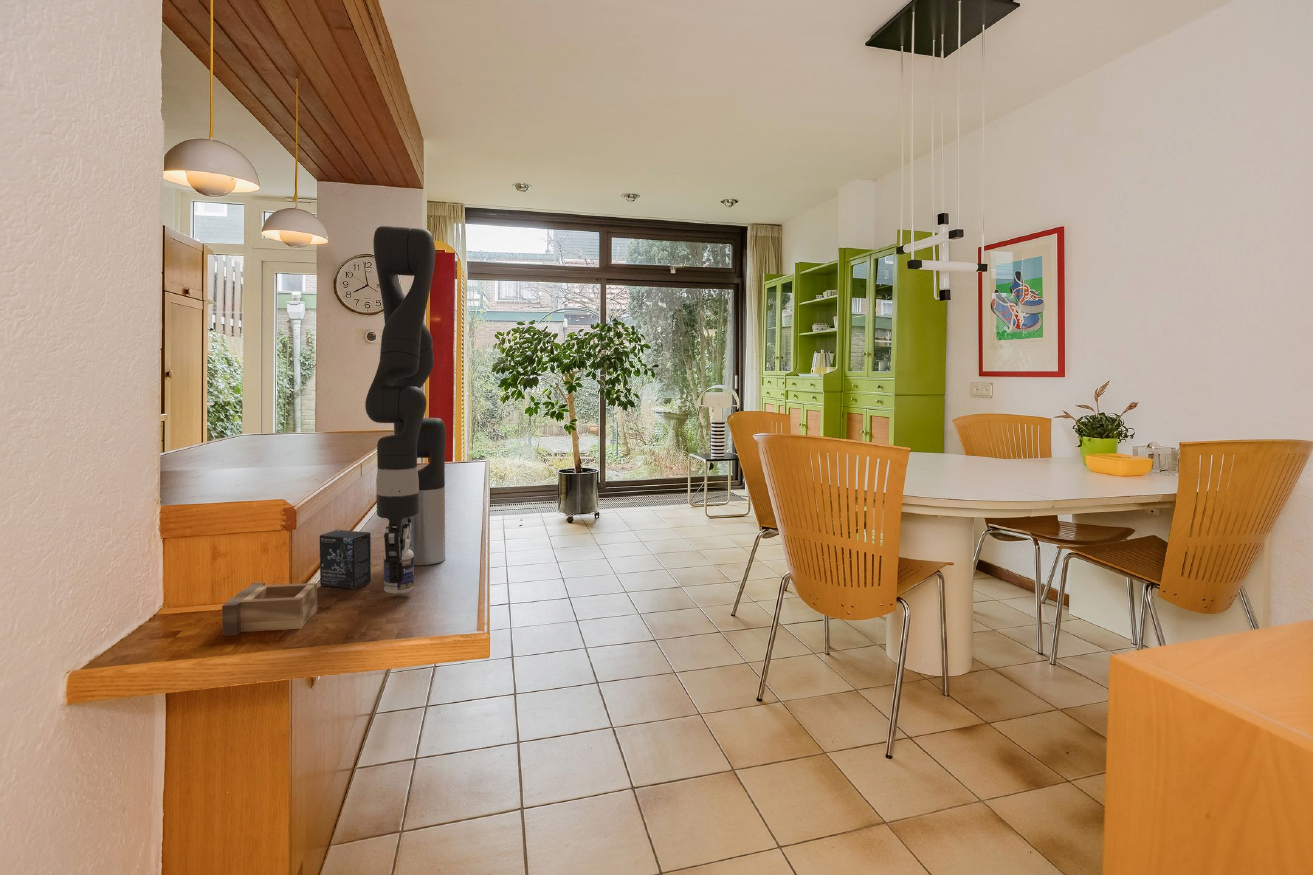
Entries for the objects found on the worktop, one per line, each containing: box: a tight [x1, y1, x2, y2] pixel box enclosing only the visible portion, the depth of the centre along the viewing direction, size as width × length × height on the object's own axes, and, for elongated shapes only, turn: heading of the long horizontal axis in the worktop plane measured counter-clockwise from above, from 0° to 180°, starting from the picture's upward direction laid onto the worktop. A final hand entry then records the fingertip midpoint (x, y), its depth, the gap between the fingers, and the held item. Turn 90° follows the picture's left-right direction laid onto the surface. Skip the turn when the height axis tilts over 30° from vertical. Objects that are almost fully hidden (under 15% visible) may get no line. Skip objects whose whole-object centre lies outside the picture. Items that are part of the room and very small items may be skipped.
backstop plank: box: [221, 582, 266, 637], centre depth 110 cm, size 12×2×5 cm, turn 12°
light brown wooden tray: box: [240, 582, 318, 633], centre depth 111 cm, size 9×9×5 cm
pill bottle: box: [383, 539, 415, 595], centre depth 124 cm, size 5×5×10 cm
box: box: [319, 529, 372, 590], centre depth 131 cm, size 8×6×11 cm
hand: (399, 576), depth 124 cm, fingers closed on pill bottle, 5 cm apart
